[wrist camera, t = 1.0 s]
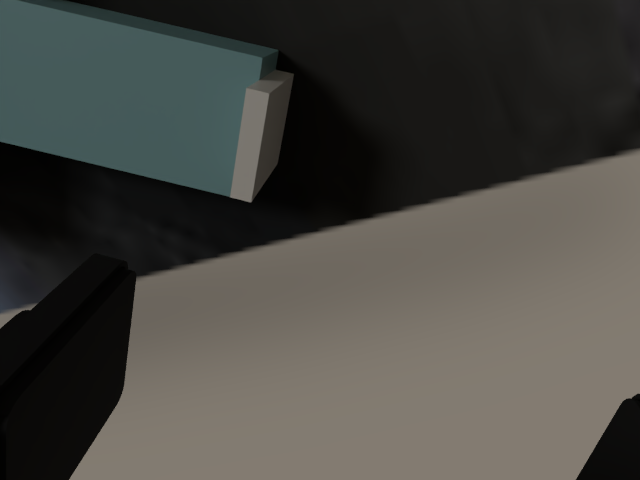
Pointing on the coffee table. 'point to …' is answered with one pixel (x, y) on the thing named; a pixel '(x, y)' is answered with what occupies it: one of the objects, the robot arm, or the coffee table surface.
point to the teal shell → (141, 96)
